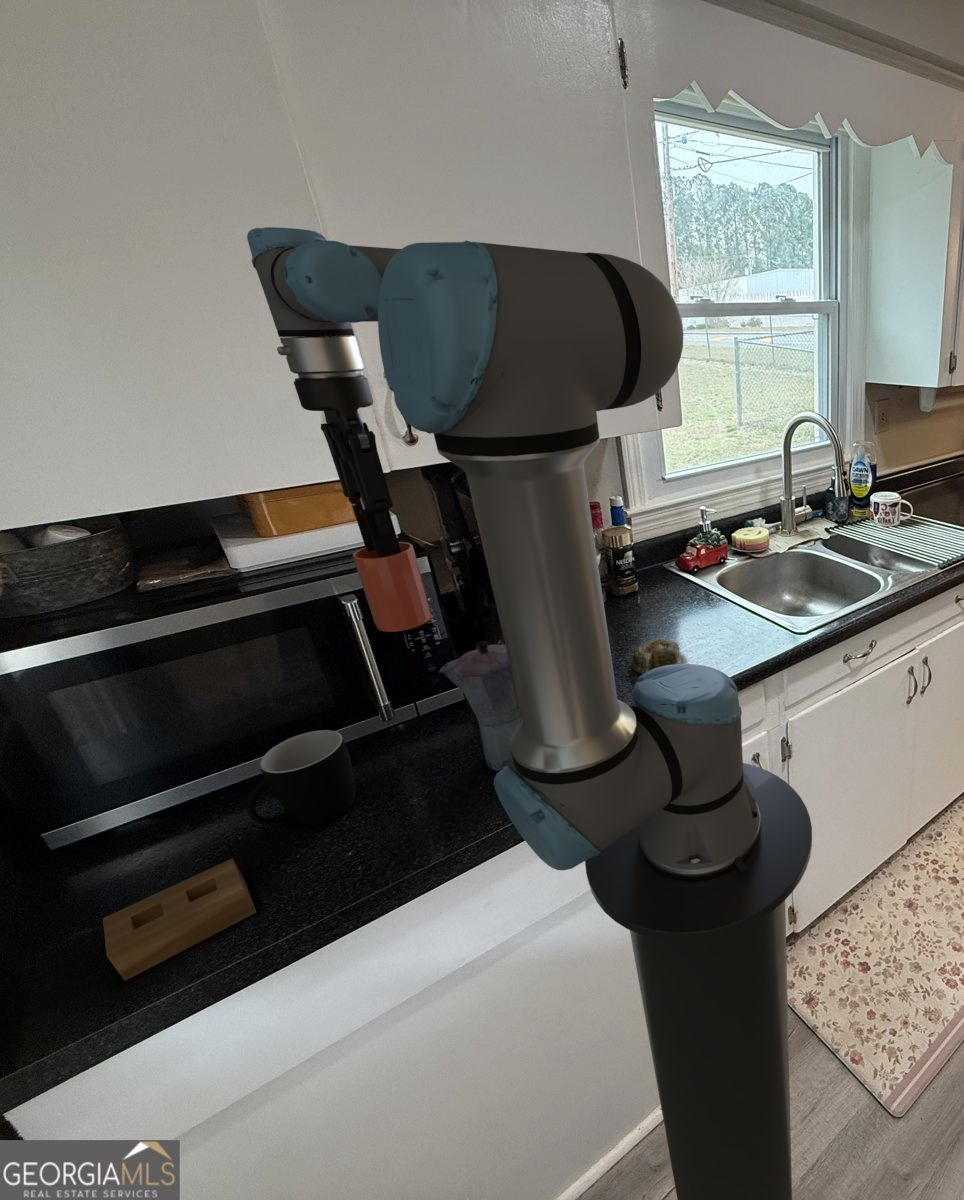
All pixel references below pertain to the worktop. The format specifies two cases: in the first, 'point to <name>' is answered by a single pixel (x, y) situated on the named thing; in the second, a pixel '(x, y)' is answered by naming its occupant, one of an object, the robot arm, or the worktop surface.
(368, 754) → the worktop surface
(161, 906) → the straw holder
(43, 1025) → the worktop surface
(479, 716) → the moka pot
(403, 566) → the cup
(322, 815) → the mug
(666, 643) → the cake
